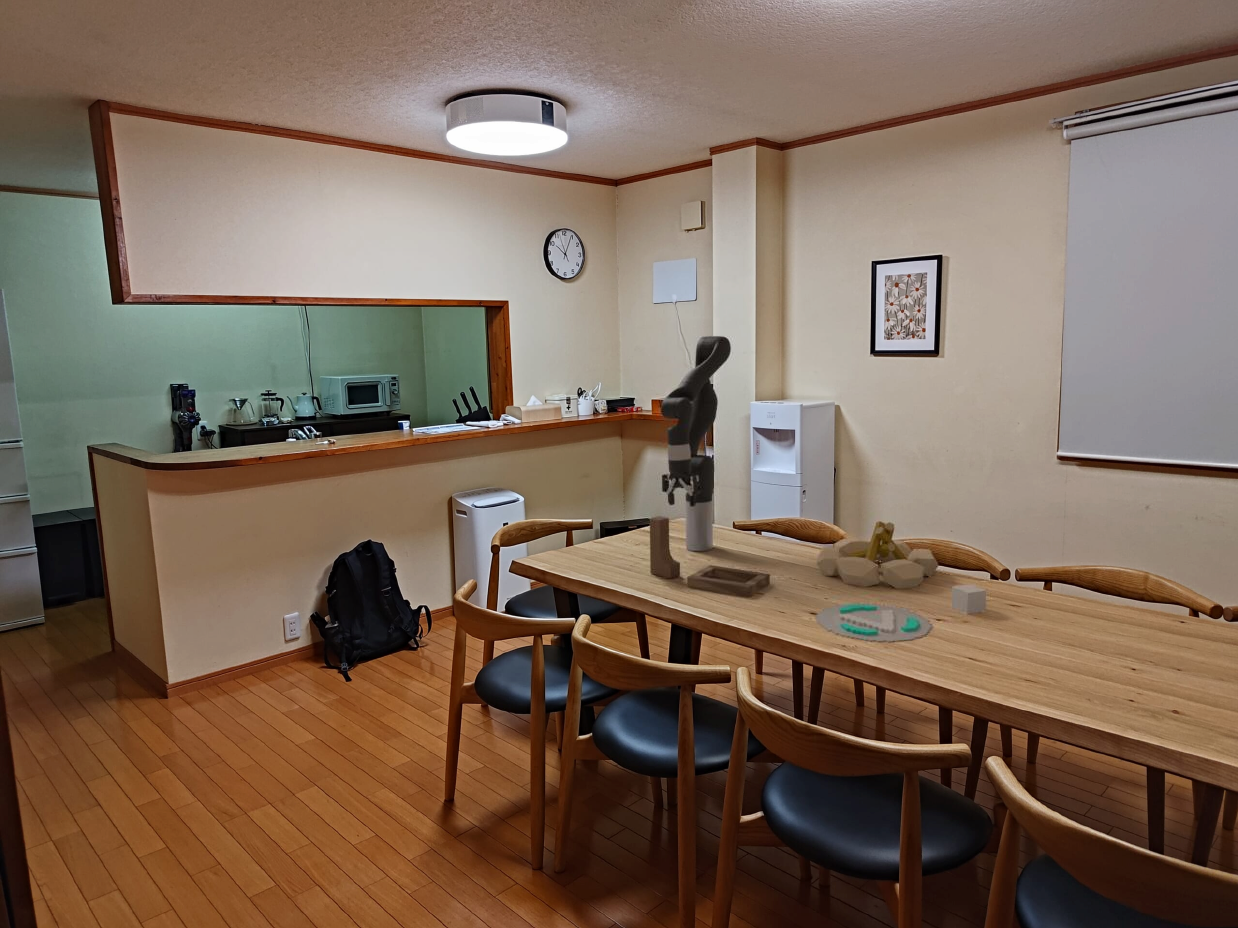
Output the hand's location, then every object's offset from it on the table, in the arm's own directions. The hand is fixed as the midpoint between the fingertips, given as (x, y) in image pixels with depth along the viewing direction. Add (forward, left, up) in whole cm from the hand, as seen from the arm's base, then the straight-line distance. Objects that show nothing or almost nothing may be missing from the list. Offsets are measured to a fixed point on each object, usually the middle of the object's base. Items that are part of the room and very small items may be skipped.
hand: (682, 505), depth 274 cm
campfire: (-14, +61, -19) cm, 65 cm away
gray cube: (+8, +92, -18) cm, 94 cm away
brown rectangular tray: (+20, +27, -18) cm, 38 cm away
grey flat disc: (+30, +73, -19) cm, 81 cm away
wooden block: (+20, +5, -18) cm, 28 cm away
